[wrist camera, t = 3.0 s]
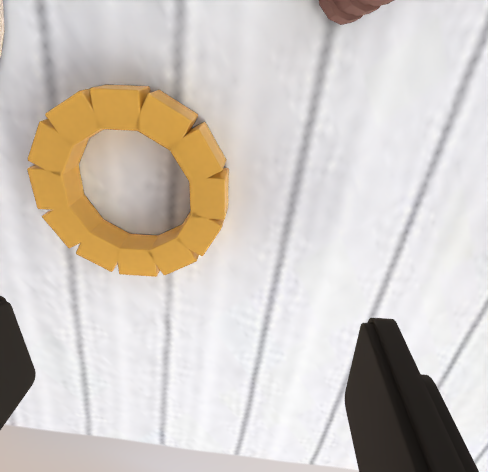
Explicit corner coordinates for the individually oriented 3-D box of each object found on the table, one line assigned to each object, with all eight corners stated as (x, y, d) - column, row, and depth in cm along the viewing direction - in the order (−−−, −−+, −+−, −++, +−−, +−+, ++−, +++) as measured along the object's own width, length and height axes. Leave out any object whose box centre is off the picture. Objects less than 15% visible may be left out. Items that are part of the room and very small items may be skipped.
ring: (68, 254, 25) (53, 270, 23) (28, 80, 19) (3, 84, 18) (227, 264, 24) (224, 281, 22) (229, 89, 19) (225, 93, 17)
